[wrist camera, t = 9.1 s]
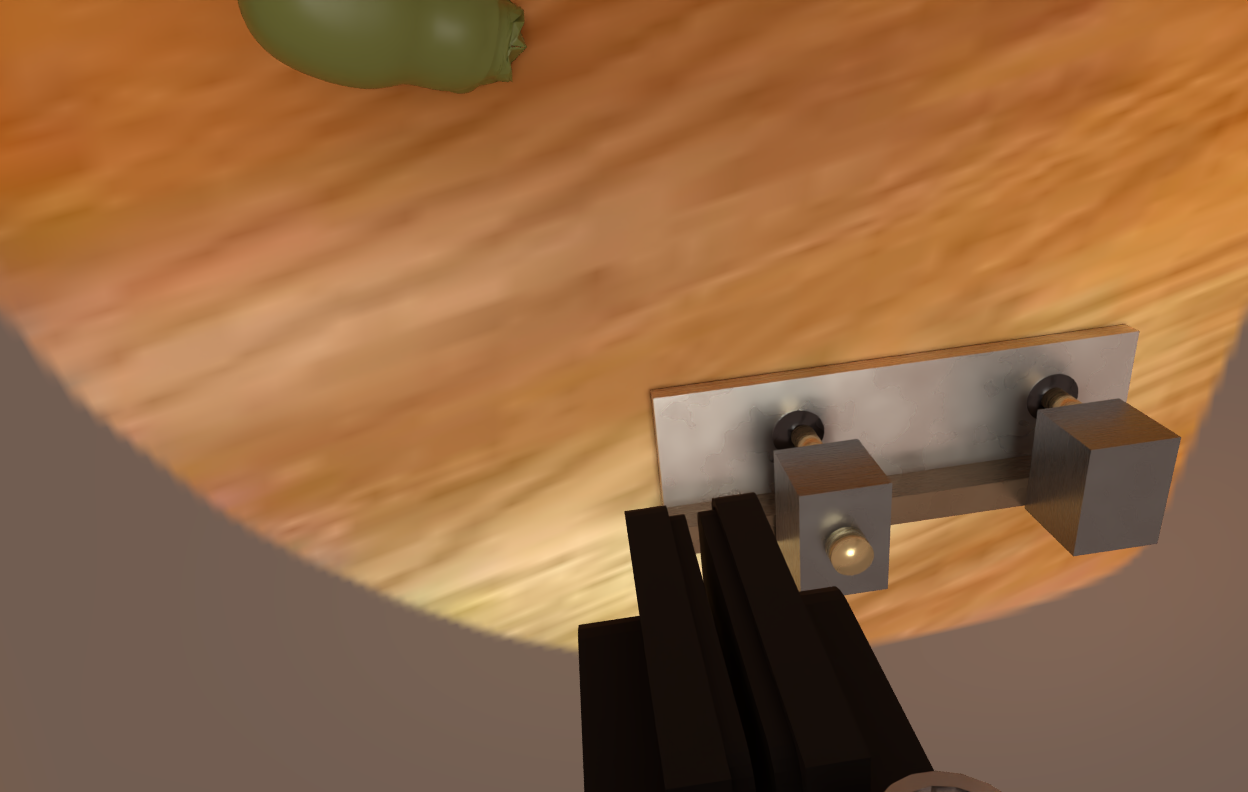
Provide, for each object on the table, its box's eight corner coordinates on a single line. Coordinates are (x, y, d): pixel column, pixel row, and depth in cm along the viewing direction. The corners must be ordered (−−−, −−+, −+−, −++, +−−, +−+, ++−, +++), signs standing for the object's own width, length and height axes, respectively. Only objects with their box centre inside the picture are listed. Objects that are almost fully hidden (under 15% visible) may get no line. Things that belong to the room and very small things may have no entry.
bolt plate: (1125, 324, 39) (1238, 380, 33) (1101, 462, 42) (1198, 537, 36) (650, 390, 38) (671, 460, 32) (664, 525, 41) (686, 614, 35)
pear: (224, -133, 23) (548, -36, 27) (252, -110, 28) (525, -31, 31) (218, 64, 26) (518, 130, 29) (245, 55, 30) (501, 113, 33)
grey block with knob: (843, 419, 38) (902, 495, 32) (841, 514, 41) (896, 603, 34) (762, 431, 38) (806, 509, 32) (766, 525, 40) (807, 616, 34)
